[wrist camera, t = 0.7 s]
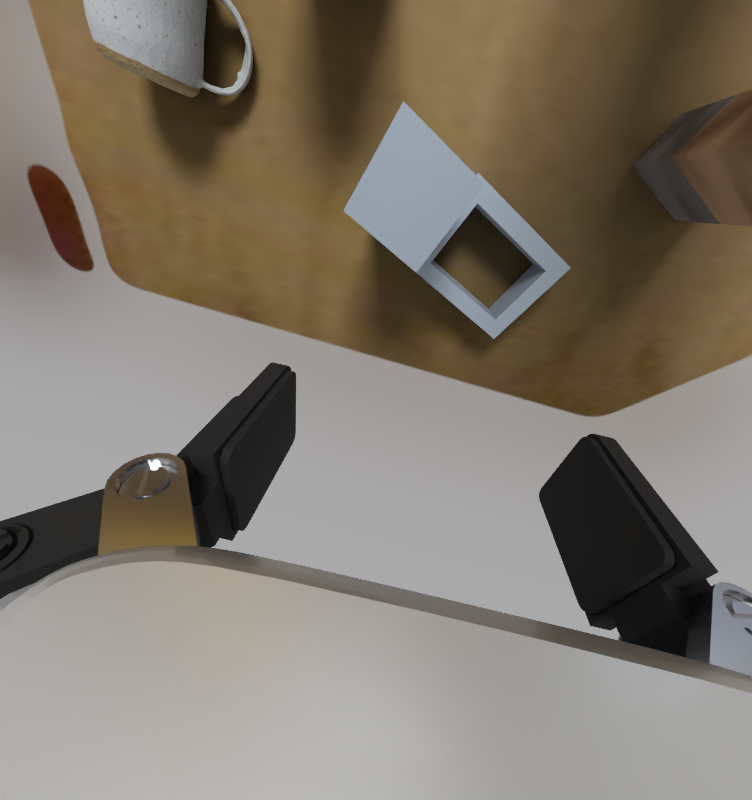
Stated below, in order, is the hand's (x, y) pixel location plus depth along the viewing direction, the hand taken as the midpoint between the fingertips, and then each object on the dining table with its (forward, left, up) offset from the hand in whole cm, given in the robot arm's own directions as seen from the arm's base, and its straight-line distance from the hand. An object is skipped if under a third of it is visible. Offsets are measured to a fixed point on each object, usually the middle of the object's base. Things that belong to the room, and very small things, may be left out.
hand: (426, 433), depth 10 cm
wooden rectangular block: (-19, +12, -28) cm, 36 cm away
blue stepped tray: (-4, +1, -28) cm, 28 cm away
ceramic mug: (-3, -28, -28) cm, 40 cm away
